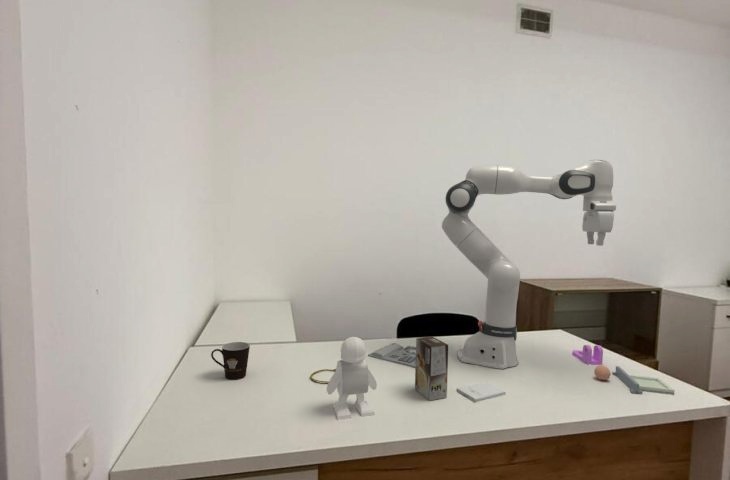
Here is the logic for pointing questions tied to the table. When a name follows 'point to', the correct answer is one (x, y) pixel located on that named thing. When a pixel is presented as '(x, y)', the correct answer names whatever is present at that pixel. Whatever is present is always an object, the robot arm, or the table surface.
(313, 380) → the brown hoop
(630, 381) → the divider
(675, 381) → the table surface
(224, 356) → the coffee mug
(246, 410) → the table surface
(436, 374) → the coffee box
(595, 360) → the bracket
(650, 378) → the tray
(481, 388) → the external hard drive
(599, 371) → the ball
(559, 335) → the table surface
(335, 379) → the toy robot
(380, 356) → the office telephone
